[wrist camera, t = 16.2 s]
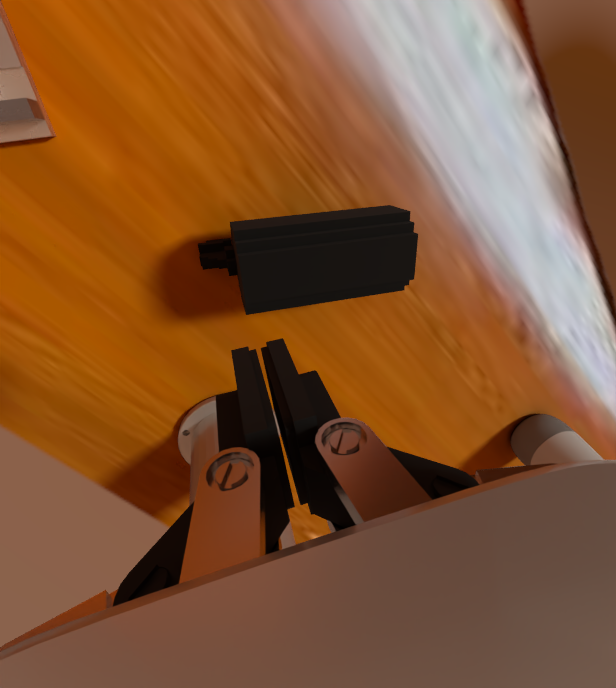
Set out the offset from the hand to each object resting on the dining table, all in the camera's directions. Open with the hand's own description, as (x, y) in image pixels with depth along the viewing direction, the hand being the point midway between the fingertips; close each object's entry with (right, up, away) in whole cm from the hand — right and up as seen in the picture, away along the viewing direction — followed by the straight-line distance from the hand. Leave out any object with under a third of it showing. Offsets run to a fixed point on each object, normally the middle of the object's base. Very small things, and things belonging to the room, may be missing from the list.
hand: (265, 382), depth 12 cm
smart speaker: (+39, -14, +51) cm, 66 cm away
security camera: (0, +12, +26) cm, 28 cm away
